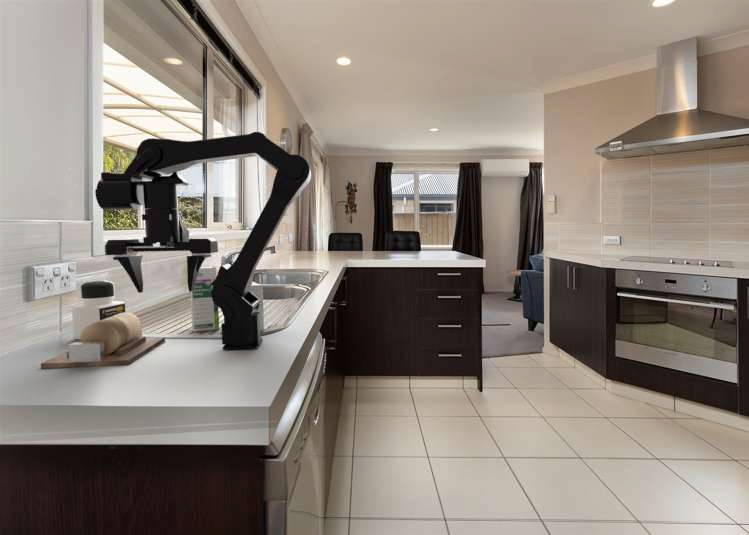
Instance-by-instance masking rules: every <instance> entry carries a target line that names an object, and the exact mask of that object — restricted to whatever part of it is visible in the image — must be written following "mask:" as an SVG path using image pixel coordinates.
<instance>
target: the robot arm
mask: <svg viewBox="0 0 749 535" xmlns="http://www.w3.org/2000/svg"><path fill="white" fill-rule="evenodd" d="M252 157H258V158H260V159H261V160H263V161H264V162H265V163H267V164H268V165H269V166H271V167H272V168H273V169H274V170H275V171H276V173H275V176H274V180H273V184H272V188H271V192H270V196H269V198H268V200H267V202H266V203H265V205H264V207H263V209H262V211H261V213H260V215H259V216H258V218H257V220H256V222H255V224H254V226H253V228H252V230H251V231H250V233H249V235H248V237H247V238H246V240H245V242H244V245H243V246H242V248H241V250H240V251H239V253H238V255H237V258H236V259H235V260H234V262H232V264H231V263H226V264H223V265H220V267H219V269H218V272H217V277H216V279H215V280H214V281H213V282H212V283H211V284H210V285H211V286H212V285H214V286H213V288H212V291H211V297H212V300H213V302H214V303H215V305H216V306H218V309H220V310H221V313H222V315H223V322H222V323H221V344H222V345H223V346H222V350H226V351H227V350H240V349H241V350H245V349H248V350H249V349H258V348H259V346H260V345H261V344H262V342H263V338H262V336H261V334H262V333H261V331H260V312H255V311H256V310H258V308H259V305H260V299H258V298H257V297H256V296H255V295H254V294H253V293H252V292H250V288H251V285H252V282H254V277H255V274H256V273H255V272H256V269H257V267H258V264H259V262H260V260H262V257H263V255H264V253H265V251H266V249H267V248H268V246H269V244H270V242H271V241H272V238H273V236H274V234H276V231H277V229H278V227H279V226H280V223H281V222H282V220H283V218H284V216H285V214H286V212H287V211H288V209H289V207H290V205H291V204H292V203H294V202H295V200H296V199H297V198H298V197H299V196H300V195H301V193H302V192H303V191H304V189H306V187H307V186H308V184H309V183H310V181H311V179H312V172H311V167H310V166H309V165H310V164H309V163H308V161H307V160H306V159H305V158H304V157H303V156H301V155H298V154H290V153H289V152H288V151H286V150H285V149H284V148H282V147H281V146H279V145H278V144H277V143H275V142H273V141H272V140H270V138H268V137H267V136H266V135H265V134H264V133H262V132H261V131H253V132H251V133H246V134H237V135H230V136H221V137H214V138H207V139H198V140H190V141H187V140H186V141H185V140H177V139H170V138H145V139H144V140H142V141H141V142H140V143H139V145H138V146H137V149H136V155H135V157H134V158H133V159H132V160H131V162H130V163H129V165H128V166H127V167H126V169H125V170H124V172H123V173H119V172H118V173H115V172H113V173H112V172H107V171H105V172H104V171H103V172H101V173H100V179H99V180H98V182H97V184H96V189H95V191H94V192H95V194H94V195H95V199H96V202H97V204H98V207H100V208H101V209H102V210H104V211H109V210H110V211H119V210H120V211H124V210H129V211H130V210H131V211H132V210H139V209H140V207H141V206H144V207H143V209H144V214H141V220H142V221H144V222H145V223H144V225H145V226H144V227H145V236H144V237H143V238H142V240H143V242H140V240H139V239H137V238H136V239H135V238H133V239H129V238H128V239H126V238H125V239H108V240H107V241H106V243H105V245H104V254H105V255H104V256H113V257H112V259H113V261H118V262H119V264H120V265H121V266H122V268H123V269H124V270H125V271H126V273H127V275H128V277H129V278H130V280H131V281H132V283H133V285H134V287H135V289H136V292H138V293H139V294H142V293H143V292H144V280H143V273H142V272H143V271H142V260H143V254H142V255H141V254H138V253H139V252H141V253H142V252H184V251H185V252H186V251H187V252H190V253H191V255H186V266H187V267H186V268H187V269H186V270H187V271H186V272H187V276H186V277H187V287H188V292H190V291H193V288H194V285H195V282H196V278H197V275H198V272H199V269H200V267H201V266H203V263H204V261H205V260H206V259H207V258H211V257H212V254H214V253H218V252H219V244H218V241H217V239H215V237H207V238H206V237H203V238H202V237H201V238H197V237H196V238H190V231H189V230H188V229H187V227H186V226H184V225H183V224H182V217H181V215H180V214H179V203H178V202H179V201H178V186H180V187H181V186H186V187H187V186H188V185H189V181H187V180H186V179H185V178H184V177H183V176H182V175H181V174H180V173H179V172H182V171H184V170H186V169H188V168H191V167H193V166H196V165H199V164H205V163H215V162H221V161H222V162H223V161H230V160H237V159H244V158H252ZM157 243H159V245H155V244H157Z"/></svg>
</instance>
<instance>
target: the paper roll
mask: <svg viewBox="0 0 749 535" xmlns="http://www.w3.org/2000/svg"><path fill="white" fill-rule="evenodd" d="M141 330H142V323H141V321H140V319H139V317H137V316H136V315H135V314H134V313H132V312H126V311H125V312H124V313H119V314H117V315H114V316H111V317H109V318H106V319H103V320H101V321H98V322H96V323H93V324H91V325H89V326H87V327H86V328H85V329H84V330H83V331H82V333H81V337H80V339H79V342H104V347H105V356H106V355H108V354H110V353H112V352H114V351H115V350H117V349H119V348H121V347H122V346H124V345H126V344H128V343H130V342H132V341H133V340H135V339H136V338H138V336H139V335H140V333H141Z"/></svg>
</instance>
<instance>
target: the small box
mask: <svg viewBox="0 0 749 535" xmlns="http://www.w3.org/2000/svg"><path fill="white" fill-rule="evenodd" d="M250 292H252V293H253V294H254V295H255V296H256V297H257V298H258V299H260V305H259V308H258V310H256V311H255V312H260V332H263V331H262V330H265V323H264V322H265V320H264V318H265V317H264V315H265V314H264V285H263V284H259V283H257V282H255V281H253V282H252V285H251V288H250Z"/></svg>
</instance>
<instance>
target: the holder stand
mask: <svg viewBox="0 0 749 535" xmlns="http://www.w3.org/2000/svg"><path fill="white" fill-rule="evenodd" d="M142 331H143V330H142V329H141V333H140V335H139V336H138V338H136V339H135V340H133V341H132V342H130V343H128V344H126V345H124V346H122V347H121V348H119V349H117V350H115V351H114V352H112V353H110V354H108V355H106V356H105V347H104V342H80V341H79V342H71V343H69V344H67V348H68V349H67V350H68V351H65V352H63V353H61V354H59V355H56V356H54V357H53V358H50V359H48V360H45V361H43V362H41V363H40V369H56V368H58V369H59V368H60V369H61V368H76V367H77V368H80V367H81V368H83V367H104V366H106V367H107V366H126V365H127V366H130V365H131V364H132V363H134V362H135V361H137V360H139V359H140V358H142V357H143V356H145V355H146V354H148V353H149V352H150V351H152V350H154V349H155V348H158V346H160V345H162V344H163V343H165V342H166V337H165V336H164V337H161V336H160V337H146V336H143V332H142Z"/></svg>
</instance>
